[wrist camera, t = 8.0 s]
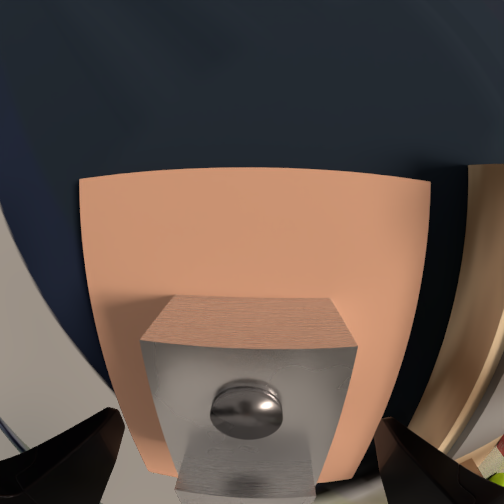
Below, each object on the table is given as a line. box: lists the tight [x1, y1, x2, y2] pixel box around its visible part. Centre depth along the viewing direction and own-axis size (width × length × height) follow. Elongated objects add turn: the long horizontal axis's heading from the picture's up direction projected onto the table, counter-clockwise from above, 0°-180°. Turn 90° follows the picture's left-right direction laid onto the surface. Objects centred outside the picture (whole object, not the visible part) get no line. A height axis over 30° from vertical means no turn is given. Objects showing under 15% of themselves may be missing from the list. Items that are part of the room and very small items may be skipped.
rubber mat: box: [79, 168, 431, 483], centre depth 10 cm, size 16×12×1 cm
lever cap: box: [139, 295, 358, 504], centre depth 7 cm, size 8×5×4 cm, turn 0°
